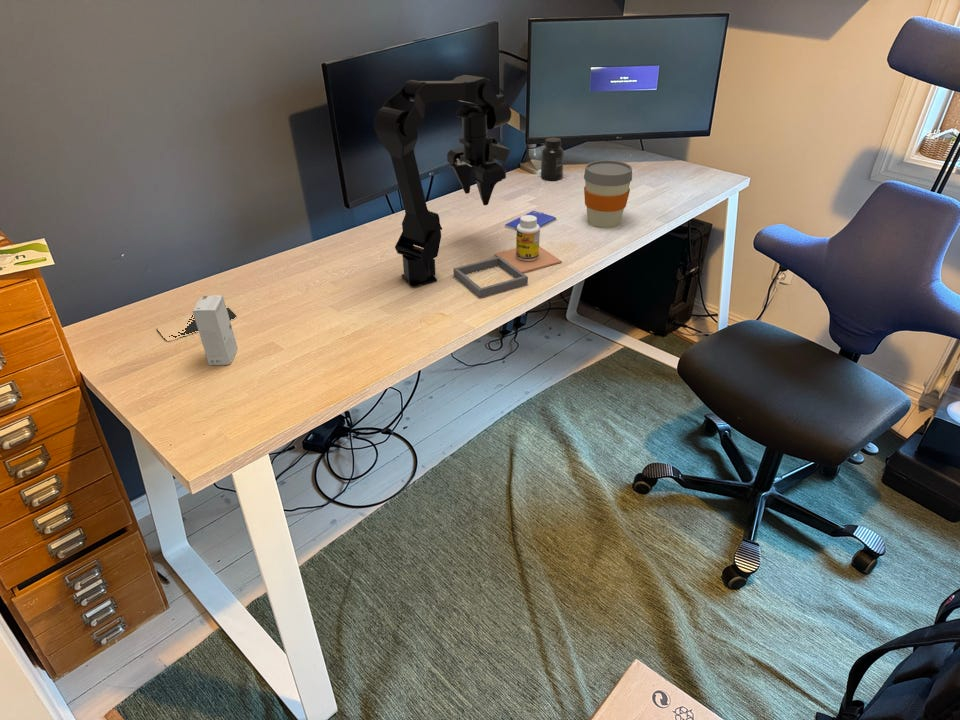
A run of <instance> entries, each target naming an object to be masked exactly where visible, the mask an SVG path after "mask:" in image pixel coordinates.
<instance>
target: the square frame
mask: <svg viewBox="0 0 960 720" xmlns="http://www.w3.org/2000/svg"><path fill="white" fill-rule="evenodd" d="M498 265H499V266H500V267H499V266H498ZM495 266H496V267H499V268H501V269H502V270H503V271H505V272H506V273H507V274H508V275H510V276H511V277H513V278H512V279H509V280H505V281H502V282H498V283H494V284H490V285H487V286H484V287H483V286H482V287H481V286H479V285H478V284H477V283H476V282H475V281H473V280H472V279H471V278H470V277H469V276H467V275H469V273H470V274H473V273H472V272H474V273H477V272H481V271H484V270H488V268H489V269H491V268H495ZM452 269H453V277H454V278H456V280H458V281H459V282H460V283H461V284H462V283H463V286H465V288H467V289H468V290H470V291H471V292H472V293H473V294H474V295H475V296H476V297H478V298H479V299H481V298H486V297H490V296H493V295H496V294H500V293H502V292H507V291H511V290H514V289H517V288H520V287H523V286H528V285H529V281H528V279H529V276H527V275H526V273H522V272H521V271H519V270H518V269H516V268H515V267H514V266H512V265H511V264H510V263H508V262H507V261H505V260H504V259H503V258H501V257H500V256H499V257H495V256H494V257H492V258H488V259H484V260H480V261H476V262H473V263H469V264H466V265H461V266H458V267H454V268H452ZM480 270H481V271H480ZM476 271H477V272H476ZM465 274H466V275H465Z"/></svg>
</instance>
